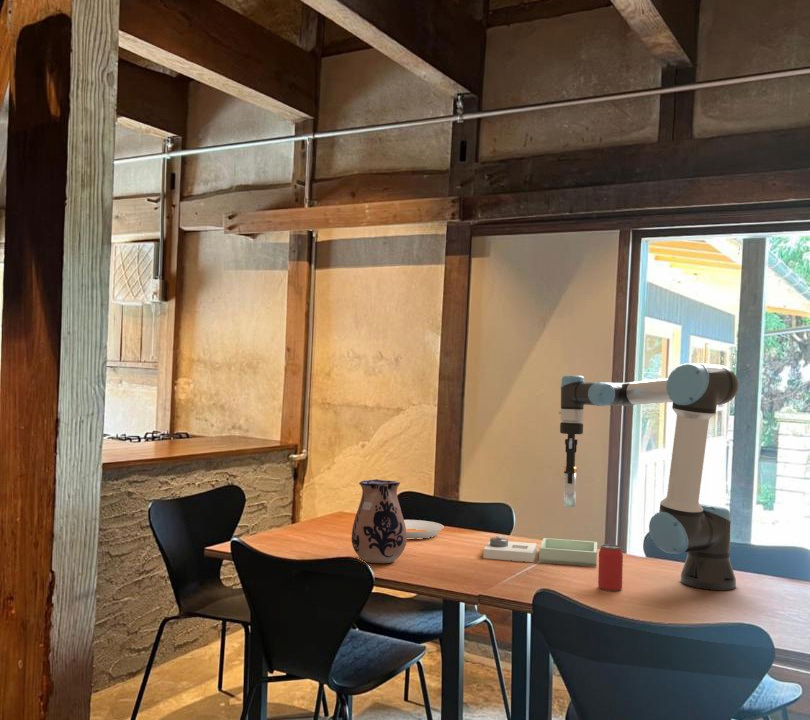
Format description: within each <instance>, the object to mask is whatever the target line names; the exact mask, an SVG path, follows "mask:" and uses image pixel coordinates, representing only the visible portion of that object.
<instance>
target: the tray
mask: <svg viewBox="0 0 810 720" xmlns="http://www.w3.org/2000/svg"><path fill="white" fill-rule="evenodd" d="M597 560H598V541H589V540H576V539H561V538H549V537H543V539H542V541H541V543H540V546H539V554H538V562H539V563H547V564H559V565H571V566H581V565H582V566H581V567H593V566H596V567H597V566H598V565H597V563H598V562H597Z"/></svg>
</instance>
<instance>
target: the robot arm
mask: <svg viewBox="0 0 810 720" xmlns="http://www.w3.org/2000/svg"><path fill="white" fill-rule="evenodd" d="M738 391H739V380H738V376H737V375H736V374H735V372H734V371H733V370H732V369H730V368H729V367H727V366H725V365H722V364H712V363H711V364H710V363H699V362H691V363H683V364H680V365H678V366H676V367H675V368H673V370H672V371H671V372H670V373H669V375H668V378H657V379H649V380H648V379H647V380H638V381H629V382H605V381H587V382H586V381H585V377H584V376H583V375H563V376H562V377H561V385H560V411H558V415H560V421H561V422H560V424H559V433H560V434H563V435H564V434H565V435H567V438H565V439H564V444H565V453H566V458H565V459H566V461H565V462H566V463H565V466H566V471H564V470H563V474H564V473H566V493H569V494H574V467H576V453H577V450H578V449H577V447H578V446H577V445H578V439H576V435H583V433H584V423H583V422H584V416H585V415H584V413H585V412H584V411H585V410H584V409H585V405H586V406H596V407H604V406H605V407H606V406H608V407H609V406H616V407H617V406H618V407H619V406H621V407H622V406H623V407H631V406H636V405H637V406H638V405H648V404H649V405H650V404H651V405H652V404H663V403H672V407H671V409H672V410H673V411H674V412H675V415H676V418H675V428H674V437H673V446H672V452H671V459H670V460H671V461H670V470H669V477H668V485H667V492H666V493H667V494H666V497H664V498H663V499H662V500H661V501H660V502H659V503H660V504H659V511H658V512H656V513H655V514H654V515H652V517H651V518H650V521H649V523H648V531H649V536H650V538H651V540H652V541H653V542H654V545H655V546H656V547H657V548H658V549H659V550H660V551H662V552H664V553H666V554H677V555H678V554H684V553H687V555H686V558H685V562H684V563H683V567H682V569H681V573H680V582H681V583H682V584H684V585H686V586H689V587H692V588H697V589H702V588H703V590H709V589H710V590H709V591H711V590H712V591H729V590H733V589H736V588H737V579H736V575H735V573H734V569H733V565H732V564H731V563H732V562H731V558H730V557H731V523H732V520H731V513H730V510H729V509H727V508H725V507H721V506H714V505H708V504H701V503H699V502H700V500H699V499H700V493H701V492H700V491H701V484H702V479H703V478H702V477H703V470H704V463H705V462H704V461H705V456H706V455H705V453H706V447H707V446H706V445H707V438H708V431H709V430H708V429H709V423H710V422H709V421H710V419H711V418H713V417H714V416H715V415H716V414H717V407H718V406H720V405H726V404H727V403H729V402H730V401H731V402H732V400H733V399H734V398H735V397H736V395H737V393H738Z"/></svg>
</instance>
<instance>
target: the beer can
mask: <svg viewBox="0 0 810 720" xmlns="http://www.w3.org/2000/svg"><path fill="white" fill-rule="evenodd" d="M623 559H624V554H623V551H622V546H620V545H617V544H611V543H610V544H608V543H606V544H601V545H600V548H599V551H598V574H597V575H598V578H597V579H598V580H597V581H598V582H597V584H598V588H599V589H601V590H602V589H603V591H606V590H607V591H606V592H618V591H621V590H622V589H623V566H624V565H623V562H624V560H623Z"/></svg>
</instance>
